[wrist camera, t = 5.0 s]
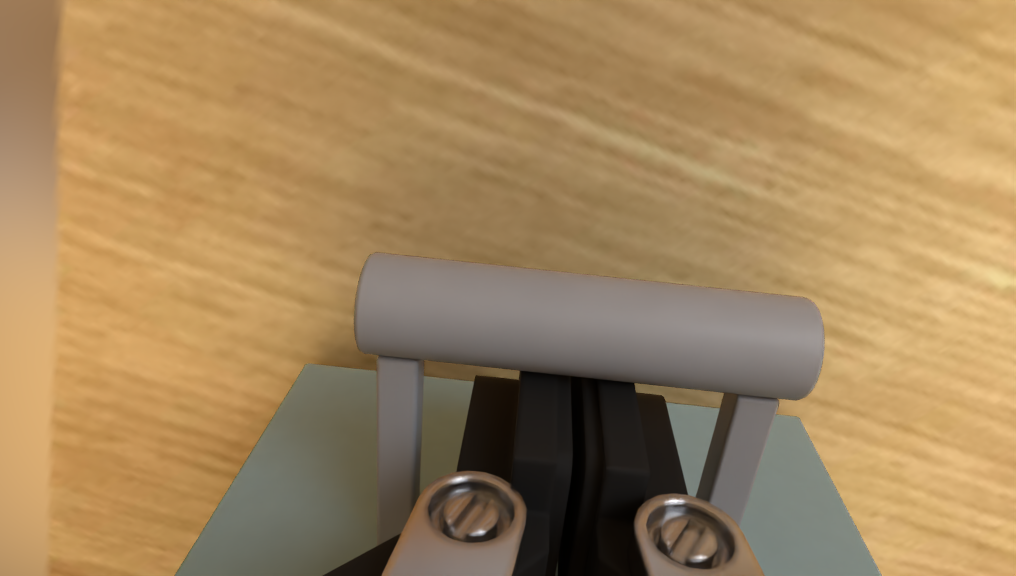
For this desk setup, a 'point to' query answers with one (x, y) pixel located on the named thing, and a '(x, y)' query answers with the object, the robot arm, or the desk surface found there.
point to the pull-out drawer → (545, 349)
